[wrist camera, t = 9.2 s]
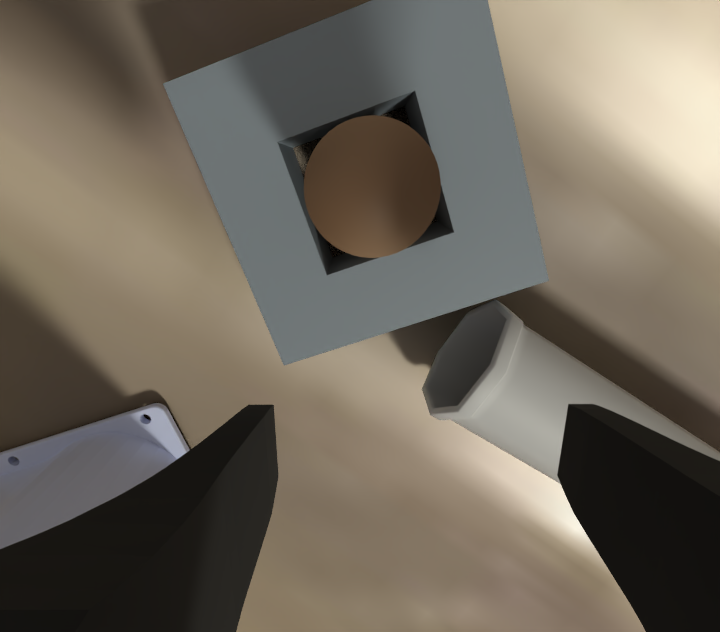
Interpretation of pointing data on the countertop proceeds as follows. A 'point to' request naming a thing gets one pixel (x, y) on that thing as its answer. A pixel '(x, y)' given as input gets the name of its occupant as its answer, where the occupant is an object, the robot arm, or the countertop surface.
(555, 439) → the tube
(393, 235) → the walnut peg
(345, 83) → the hole block
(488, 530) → the countertop surface
